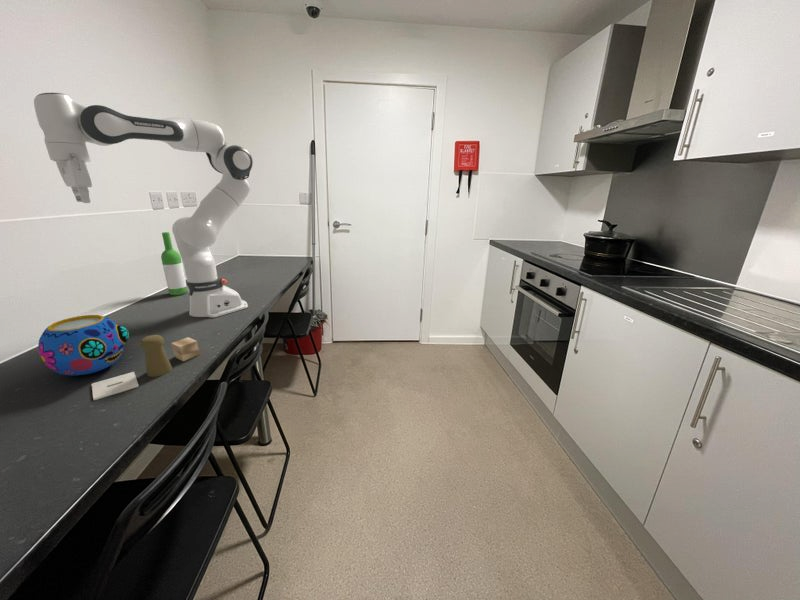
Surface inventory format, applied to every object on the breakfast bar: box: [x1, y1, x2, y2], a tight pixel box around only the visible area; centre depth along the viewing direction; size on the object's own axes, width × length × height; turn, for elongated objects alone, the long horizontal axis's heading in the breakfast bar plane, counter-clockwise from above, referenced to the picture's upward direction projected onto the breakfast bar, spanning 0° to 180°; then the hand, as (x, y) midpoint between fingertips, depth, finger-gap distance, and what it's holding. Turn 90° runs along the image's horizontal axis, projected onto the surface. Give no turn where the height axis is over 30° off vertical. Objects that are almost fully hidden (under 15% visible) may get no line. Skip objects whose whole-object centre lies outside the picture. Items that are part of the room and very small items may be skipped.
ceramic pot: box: [37, 314, 130, 376], centre depth 92 cm, size 18×18×15 cm
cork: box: [140, 334, 173, 378], centre depth 93 cm, size 6×6×11 cm
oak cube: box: [171, 336, 201, 362], centre depth 102 cm, size 5×5×5 cm
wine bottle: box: [160, 231, 188, 297], centre depth 156 cm, size 8×8×30 cm
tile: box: [91, 371, 140, 401], centre depth 87 cm, size 9×9×1 cm
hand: (83, 202), depth 103 cm, fingers open, 8 cm apart
